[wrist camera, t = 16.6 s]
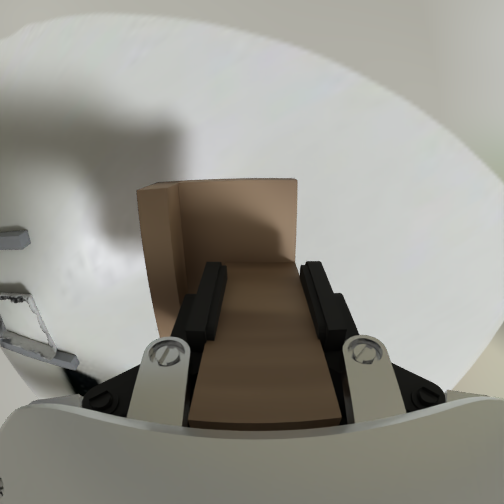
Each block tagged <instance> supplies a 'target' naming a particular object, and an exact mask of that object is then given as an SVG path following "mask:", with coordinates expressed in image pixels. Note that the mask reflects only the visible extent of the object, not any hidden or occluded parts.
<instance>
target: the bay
mask: <svg viewBox="0 0 504 504" xmlns="http://www.w3.org/2000/svg"><path fill="white" fill-rule="evenodd" d="M29 244H31V243H30V239H29V235H28V231H27V230H24V231H12V232H1V233H0V250H18V249H24V248H25V247H26V246H28V245H29ZM10 341H11V339H6V340H4V339H3V338H2V339H0V345H1V346H2V347H4V348H6V349H9V350H11V351H14V352H17V353H20V354H22V355H25V356H28V357H31V358H34V359H37V360H40V361H43V362H47V363H50V364H53V365H57V366H60V367H64V368H68V369H71V370H76V368H77V366H78V365H79V361H78V359H77V357H76V355H72V354H68V353H64V352H60V351H56V355H55V356H54V358H53V359H51V360H47V359H44V358H43V357H41V356H40V354H35V352H34V351H32V352H28V351H25V350H24V349H23V348H22V347H21V348H19V347H15V346H13V345H12V344H11V343H10Z"/></svg>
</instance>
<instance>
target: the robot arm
mask: <svg viewBox="0 0 504 504" xmlns="http://www.w3.org/2000/svg"><path fill="white" fill-rule="evenodd" d="M227 279H228V278H227V266H226V265H222V264H221V262H206V265H205V268H204V271H203V274H202V278H201V281H200V284H199V287H198V290H197V293H196V294H186V295H185V296H184V299H183V302H182V305H181V307H180V310H179V313H178V316H177V318H176V321H175V324H174V327H173V330H172V333H171V336H170V337H162V338H159V339H156V340H154V341H153V342H151V343H150V344H149V345H148V346H147V347H146V349H145V351H144V354H143V357H142V361H141V364H140V365H138V366H136V367H134V368H132V369H130V370H128V371H126V372H124V373H122V374H120V375H118V376H116V377H113V378H111V379H109V380H107V381H105V382H103V383H101V384H99V385H97V386H95V387H93V388H92V389H90V390H89V391H88V392H87V393H86V394H85V395H84V397H81V396H80V394H76V395H70V396H63V397H56V398H49V399H41V400H36V401H33V402H31V403H30V404H29V405H26V406H23V407H20V408H18V409H16V410H15V411H14V412H13V413H11V414H10V416H9V417H8V418H7V419H6V421H5V422H4V424H3V425H2V427H1V428H0V504H504V399H503V398H499V397H490V396H487V395H479V394H472V393H465V392H458V391H451V390H447V391H446V392H445V393H443V391H442V389H441V388H440V387H439V386H437V385H436V384H434V383H433V382H430V381H428V380H426V379H424V378H422V377H420V376H418V375H416V374H414V373H412V372H409V371H407V370H405V369H403V368H401V367H399V366H397V365H395V364H393V363H391V361H390V358H389V355H388V352H387V349H386V347H385V346H384V344H383V343H382V342H381V341H380V340H378V339H376V338H374V337H371V336H368V335H359V333H358V330H357V328H356V325H355V323H354V321H353V318H352V316H351V313H350V311H349V309H348V306H347V304H346V302H345V299H344V297H343V295H342V294H341V293H333V291H332V288H331V285H330V283H329V281H328V278H327V276H326V273H325V271H324V268H323V266H322V263H321V262H320V261H306V264H305V265H301V267H300V281H301V285H302V288H303V291H304V294H305V297H306V301H307V304H308V307H309V311H310V314H311V317H312V321H313V324H314V327H315V331H316V334H317V338H318V340H320V342H321V345H322V349H323V352H324V355H325V359H326V362H327V366H328V369H329V373H330V376H331V379H332V383H333V387H334V390H335V394H336V397H337V401H338V405H339V408H340V412H341V416H342V418H341V421H340V423H339V426H333V427H324V428H314V429H301V430H283V431H230V430H212V429H199V428H190V425H189V422H188V416H189V412H190V407H191V403H192V398H193V394H194V389H195V385H196V380H197V376H198V372H199V367H200V363H201V359H202V355H203V350H204V346H205V343H206V342H207V341H215V336H216V331H217V326H218V321H219V316H220V312H221V307H222V302H223V297H224V293H225V288H226V283H227Z"/></svg>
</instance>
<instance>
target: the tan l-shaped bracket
mask: <svg viewBox="0 0 504 504" xmlns="http://www.w3.org/2000/svg"><path fill="white" fill-rule="evenodd" d="M137 201H138V211H139V220H140V229H141V237H142V244H143V251H144V258H145V264H146V270H147V276H148V282H149V288H150V293H151V298H152V303H153V308H154V313H155V318H156V322H157V327H158V331H159V335H160V338H162V337H170V336H171V333H172V330H173V327H174V324H175V321H176V318H177V316H178V313H179V310H180V307H181V305H182V302H183V299H184V296H185V295H186V294H196V293H197V290H198V287H199V284H200V281H201V278H202V274H203V271H204V268H205V265H206V262H221V264H222V265H226V266H227V278H228V279H227V283H226V288H225V293H224V297H223V302H222V307H221V312H220V316H219V321H218V326H217V331H216V336H215V341H207V342H206V343H205V346H204V350H203V355H202V359H201V363H200V367H199V372H198V376H197V380H196V385H195V389H194V394H193V398H192V403H191V407H190V412H189V416H188V422H189V425H190V428H199V429H212V430H230V431H283V430H301V429H314V428H324V427H333V426H339V423H340V421H341V418H342V416H341V412H340V408H339V405H338V401H337V397H336V394H335V390H334V387H333V383H332V379H331V376H330V373H329V369H328V366H327V362H326V359H325V355H324V352H323V349H322V345H321V342H320V340H318V338H317V334H316V331H315V327H314V324H313V321H312V317H311V314H310V311H309V307H308V304H307V301H306V297H305V294H304V291H303V288H302V285H301V281H300V276H299V273H298V270H297V267H296V264H295V248H296V222H297V180H296V179H292V178H242V179H208V180H187V181H171V182H158V183H155V184H152V185H149V186H147V187H144V188H141V189H139V190H137Z"/></svg>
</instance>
